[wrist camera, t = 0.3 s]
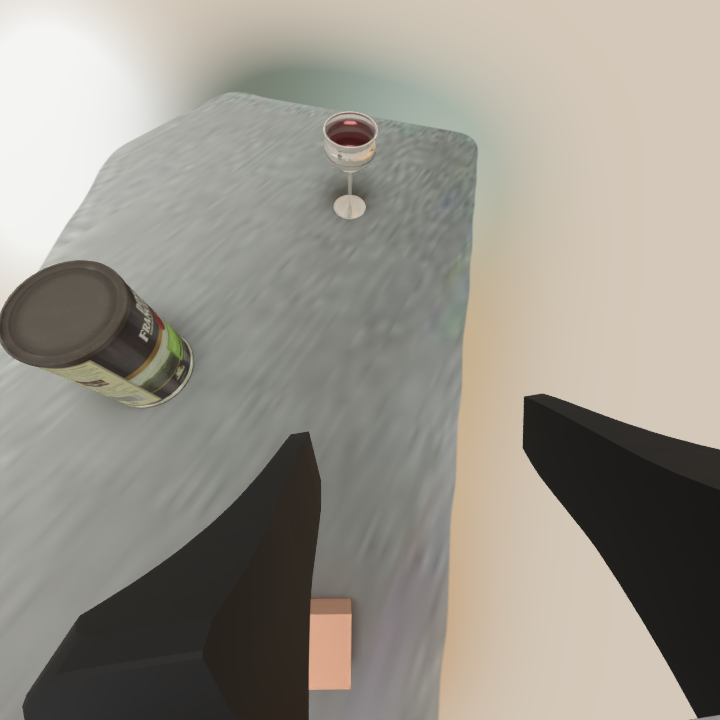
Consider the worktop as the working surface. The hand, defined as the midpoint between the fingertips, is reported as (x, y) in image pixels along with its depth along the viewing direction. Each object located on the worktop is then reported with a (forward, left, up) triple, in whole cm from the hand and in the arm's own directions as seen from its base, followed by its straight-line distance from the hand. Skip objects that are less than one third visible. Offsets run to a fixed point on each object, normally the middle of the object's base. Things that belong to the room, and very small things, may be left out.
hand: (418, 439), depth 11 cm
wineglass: (+40, +3, -29) cm, 49 cm away
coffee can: (+13, +27, -29) cm, 42 cm away
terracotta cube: (-14, +4, -29) cm, 32 cm away
